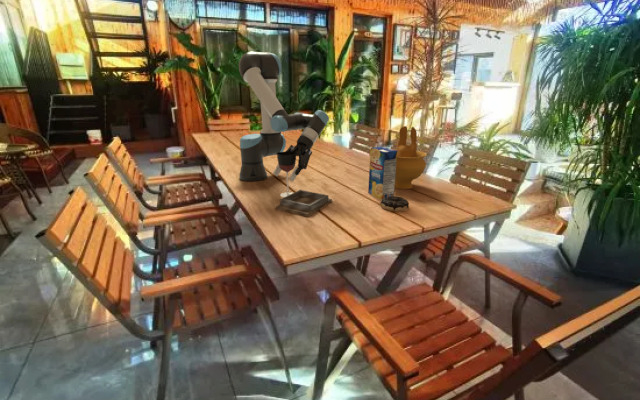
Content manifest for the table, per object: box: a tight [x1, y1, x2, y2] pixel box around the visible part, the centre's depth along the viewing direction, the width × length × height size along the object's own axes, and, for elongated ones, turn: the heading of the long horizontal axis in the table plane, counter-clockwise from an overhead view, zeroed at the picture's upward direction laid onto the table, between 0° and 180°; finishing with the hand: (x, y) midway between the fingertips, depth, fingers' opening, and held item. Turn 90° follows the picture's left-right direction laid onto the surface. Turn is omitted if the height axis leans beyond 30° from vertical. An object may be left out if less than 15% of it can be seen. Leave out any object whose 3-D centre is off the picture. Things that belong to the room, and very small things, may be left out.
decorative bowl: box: [393, 125, 427, 190], centre depth 166 cm, size 21×21×30 cm
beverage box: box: [367, 146, 397, 201], centre depth 153 cm, size 7×11×22 cm, turn 26°
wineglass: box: [276, 151, 297, 198], centre depth 154 cm, size 8×9×20 cm
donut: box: [379, 195, 410, 213], centre depth 141 cm, size 11×12×4 cm
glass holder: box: [275, 189, 333, 218], centre depth 143 cm, size 16×20×4 cm
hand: (282, 177), depth 152 cm, fingers open, 11 cm apart
